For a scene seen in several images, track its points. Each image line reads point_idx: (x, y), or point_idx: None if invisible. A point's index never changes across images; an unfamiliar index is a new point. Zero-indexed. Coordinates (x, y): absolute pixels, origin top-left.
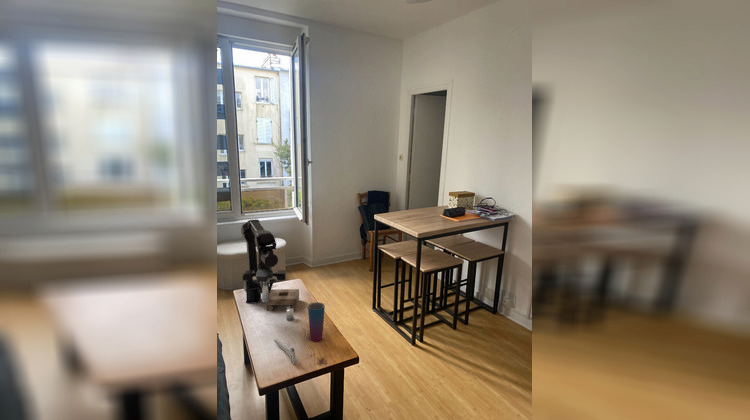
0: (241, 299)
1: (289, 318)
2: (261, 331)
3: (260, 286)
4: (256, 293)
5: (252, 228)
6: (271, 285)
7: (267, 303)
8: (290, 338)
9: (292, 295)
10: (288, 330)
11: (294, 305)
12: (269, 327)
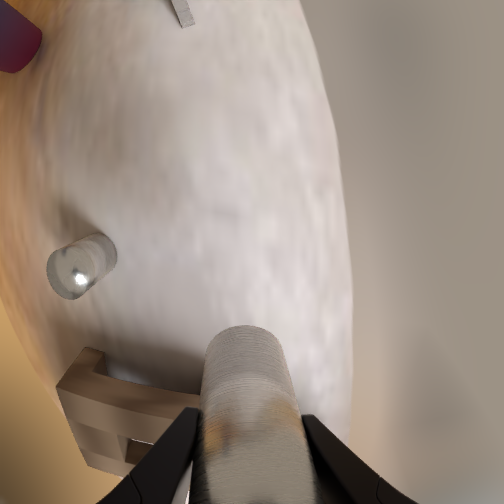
0: None
1: (92, 236)
2: (265, 125)
3: (354, 494)
4: None
5: None
6: (117, 502)
7: None
8: (110, 40)
9: (91, 429)
10: (107, 117)
11: (82, 365)
12: (215, 167)
